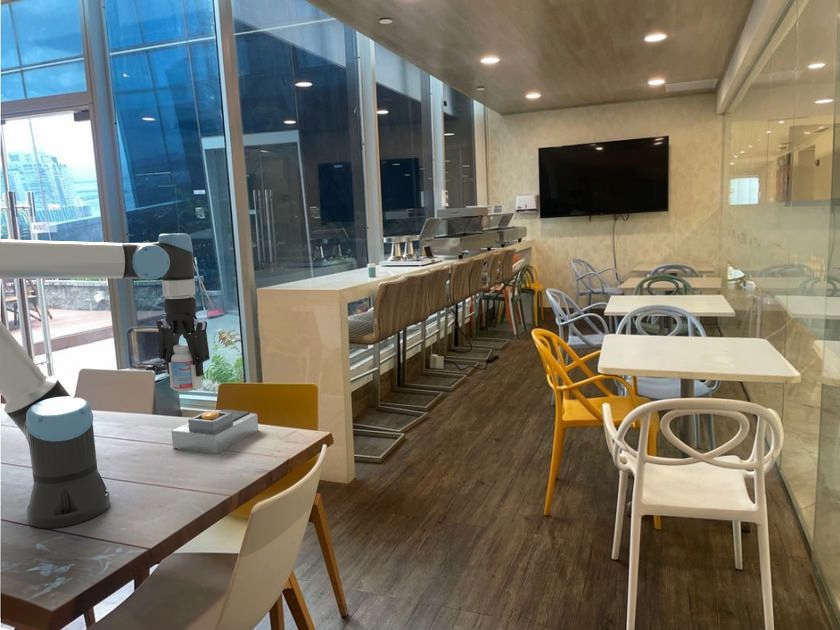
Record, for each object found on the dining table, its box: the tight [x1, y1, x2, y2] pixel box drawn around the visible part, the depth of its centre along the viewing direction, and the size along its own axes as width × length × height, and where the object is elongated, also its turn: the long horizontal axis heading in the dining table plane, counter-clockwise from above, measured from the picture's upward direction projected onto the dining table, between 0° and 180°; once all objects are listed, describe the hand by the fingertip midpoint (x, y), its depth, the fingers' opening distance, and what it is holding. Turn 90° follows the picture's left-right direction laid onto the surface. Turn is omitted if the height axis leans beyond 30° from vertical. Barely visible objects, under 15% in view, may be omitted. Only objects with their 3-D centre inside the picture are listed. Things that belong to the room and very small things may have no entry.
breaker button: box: [201, 412, 219, 421], centre depth 167 cm, size 4×4×8 cm
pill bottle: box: [171, 343, 194, 393], centre depth 154 cm, size 6×6×11 cm
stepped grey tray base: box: [171, 409, 259, 455], centre depth 171 cm, size 19×14×8 cm
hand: (186, 387), depth 155 cm, fingers closed on pill bottle, 6 cm apart
